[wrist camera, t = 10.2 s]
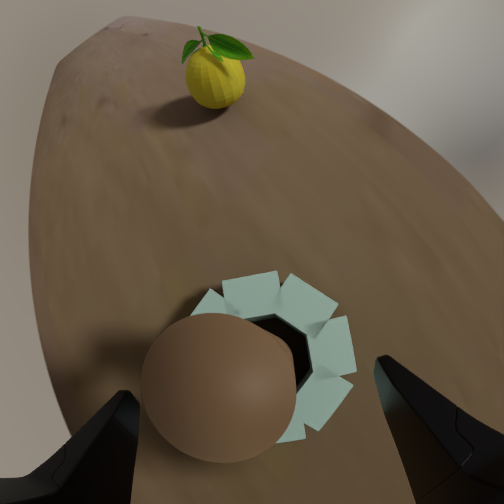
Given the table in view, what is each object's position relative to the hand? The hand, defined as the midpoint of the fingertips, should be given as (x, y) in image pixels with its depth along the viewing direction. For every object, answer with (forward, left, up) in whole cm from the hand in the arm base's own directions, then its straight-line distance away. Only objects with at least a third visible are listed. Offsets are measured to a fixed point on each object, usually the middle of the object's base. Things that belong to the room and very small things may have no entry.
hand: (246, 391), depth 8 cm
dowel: (+1, 0, -9) cm, 9 cm away
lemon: (+25, 0, -9) cm, 26 cm away
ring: (+1, 0, -9) cm, 9 cm away
